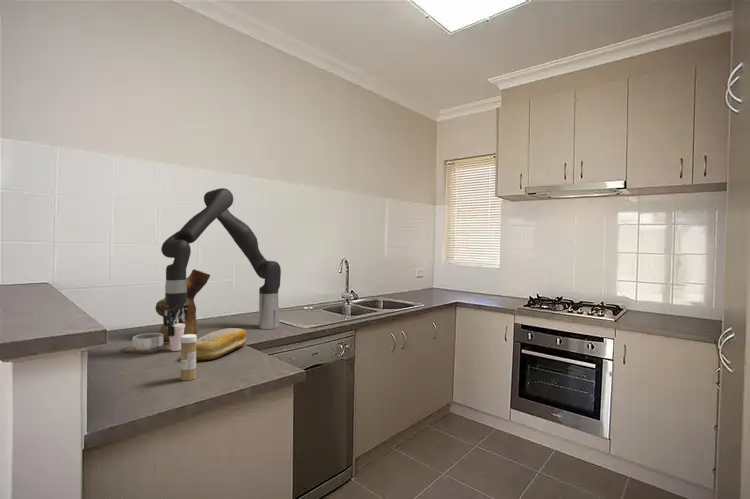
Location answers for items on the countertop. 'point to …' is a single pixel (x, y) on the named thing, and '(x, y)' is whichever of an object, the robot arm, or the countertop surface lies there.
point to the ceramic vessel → (193, 287)
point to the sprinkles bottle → (188, 356)
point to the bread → (219, 343)
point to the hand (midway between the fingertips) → (176, 334)
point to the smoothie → (177, 336)
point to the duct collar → (147, 343)
